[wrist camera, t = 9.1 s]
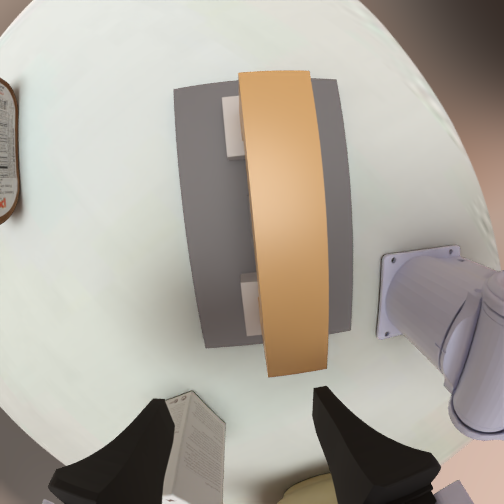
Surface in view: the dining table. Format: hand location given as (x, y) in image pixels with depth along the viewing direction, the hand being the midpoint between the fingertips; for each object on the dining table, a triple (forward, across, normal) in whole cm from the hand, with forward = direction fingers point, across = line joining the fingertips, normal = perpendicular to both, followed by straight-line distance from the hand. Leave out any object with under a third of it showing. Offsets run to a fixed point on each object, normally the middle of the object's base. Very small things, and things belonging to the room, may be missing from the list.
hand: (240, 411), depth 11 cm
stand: (+10, -3, -8) cm, 13 cm away
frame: (+7, -3, -8) cm, 11 cm away
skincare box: (+11, +6, +11) cm, 16 cm away
